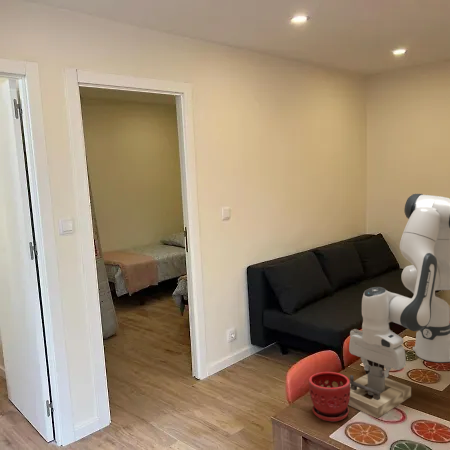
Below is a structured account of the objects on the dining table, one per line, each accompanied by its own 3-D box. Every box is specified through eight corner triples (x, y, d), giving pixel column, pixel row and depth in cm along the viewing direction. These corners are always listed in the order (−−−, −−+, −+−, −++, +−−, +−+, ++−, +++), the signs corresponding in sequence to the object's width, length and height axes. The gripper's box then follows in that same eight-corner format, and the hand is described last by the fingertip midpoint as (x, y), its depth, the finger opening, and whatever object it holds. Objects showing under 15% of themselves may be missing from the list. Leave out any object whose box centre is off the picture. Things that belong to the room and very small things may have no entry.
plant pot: (359, 413, 147) (358, 378, 145) (333, 429, 138) (332, 393, 137) (326, 399, 157) (325, 366, 155) (301, 413, 149) (300, 379, 147)
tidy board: (370, 380, 168) (370, 360, 167) (410, 396, 155) (410, 374, 154) (336, 399, 156) (336, 377, 155) (377, 418, 143) (377, 394, 142)
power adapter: (369, 390, 159) (369, 358, 158) (385, 393, 156) (385, 360, 155) (367, 394, 157) (366, 361, 155) (383, 397, 154) (382, 364, 152)
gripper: (344, 329, 160) (345, 366, 162) (397, 345, 144) (397, 386, 146) (355, 325, 164) (356, 361, 166) (408, 340, 148) (408, 380, 150)
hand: (376, 373), depth 156 cm, fingers closed on power adapter, 5 cm apart
